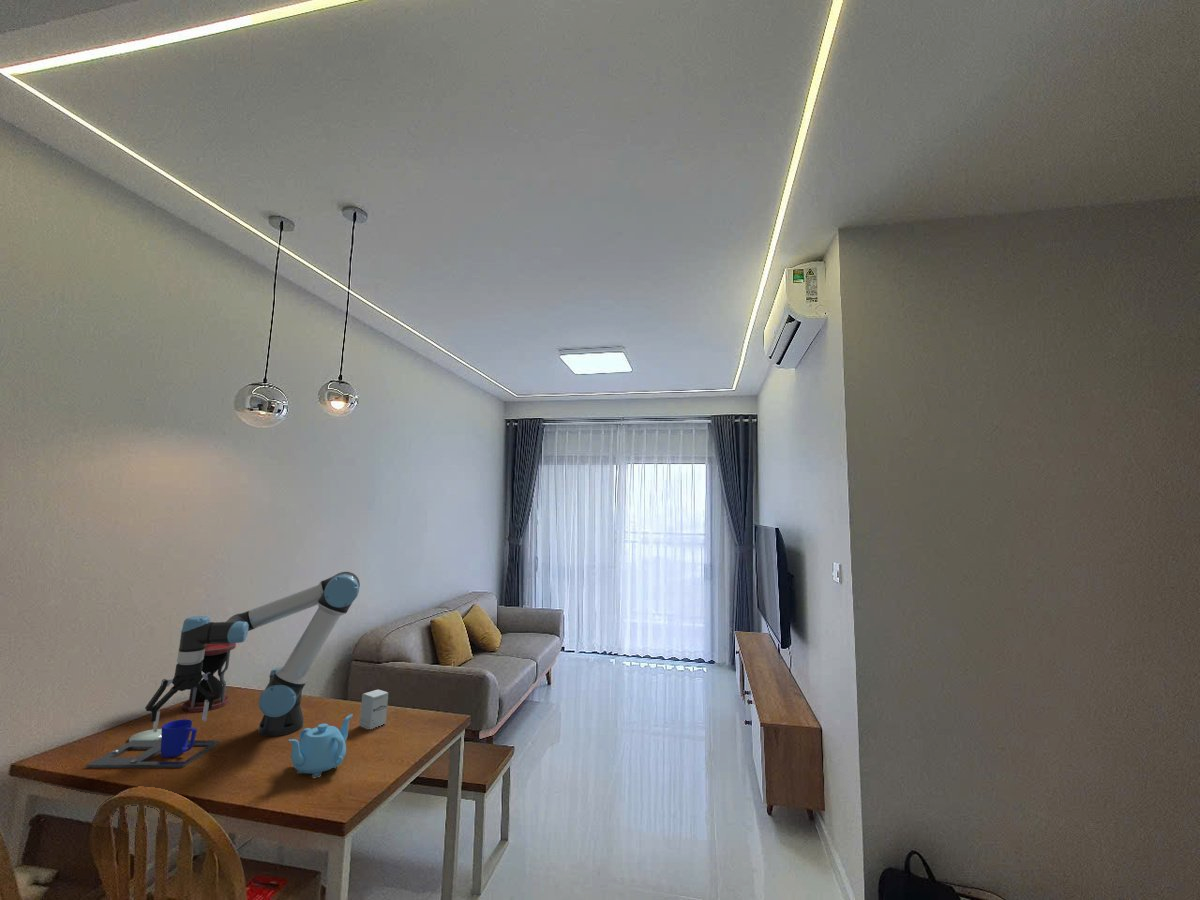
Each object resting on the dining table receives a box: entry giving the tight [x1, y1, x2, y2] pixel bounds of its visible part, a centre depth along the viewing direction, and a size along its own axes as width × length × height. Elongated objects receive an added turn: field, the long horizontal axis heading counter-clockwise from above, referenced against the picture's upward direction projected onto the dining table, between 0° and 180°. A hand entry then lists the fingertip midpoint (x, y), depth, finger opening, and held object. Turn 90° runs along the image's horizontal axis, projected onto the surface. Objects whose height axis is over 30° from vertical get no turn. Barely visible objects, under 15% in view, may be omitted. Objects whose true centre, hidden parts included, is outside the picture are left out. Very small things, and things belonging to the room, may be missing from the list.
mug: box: [160, 718, 198, 758], centre depth 175 cm, size 8×12×10 cm
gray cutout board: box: [85, 739, 221, 769], centre depth 174 cm, size 30×18×1 cm, turn 95°
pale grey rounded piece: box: [128, 728, 162, 742], centre depth 187 cm, size 11×11×1 cm
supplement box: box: [358, 689, 389, 730], centre depth 204 cm, size 7×7×13 cm
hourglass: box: [181, 643, 237, 713], centre depth 220 cm, size 16×16×25 cm
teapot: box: [287, 713, 354, 777], centre depth 170 cm, size 16×20×14 cm
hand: (180, 725), depth 176 cm, fingers open, 13 cm apart
